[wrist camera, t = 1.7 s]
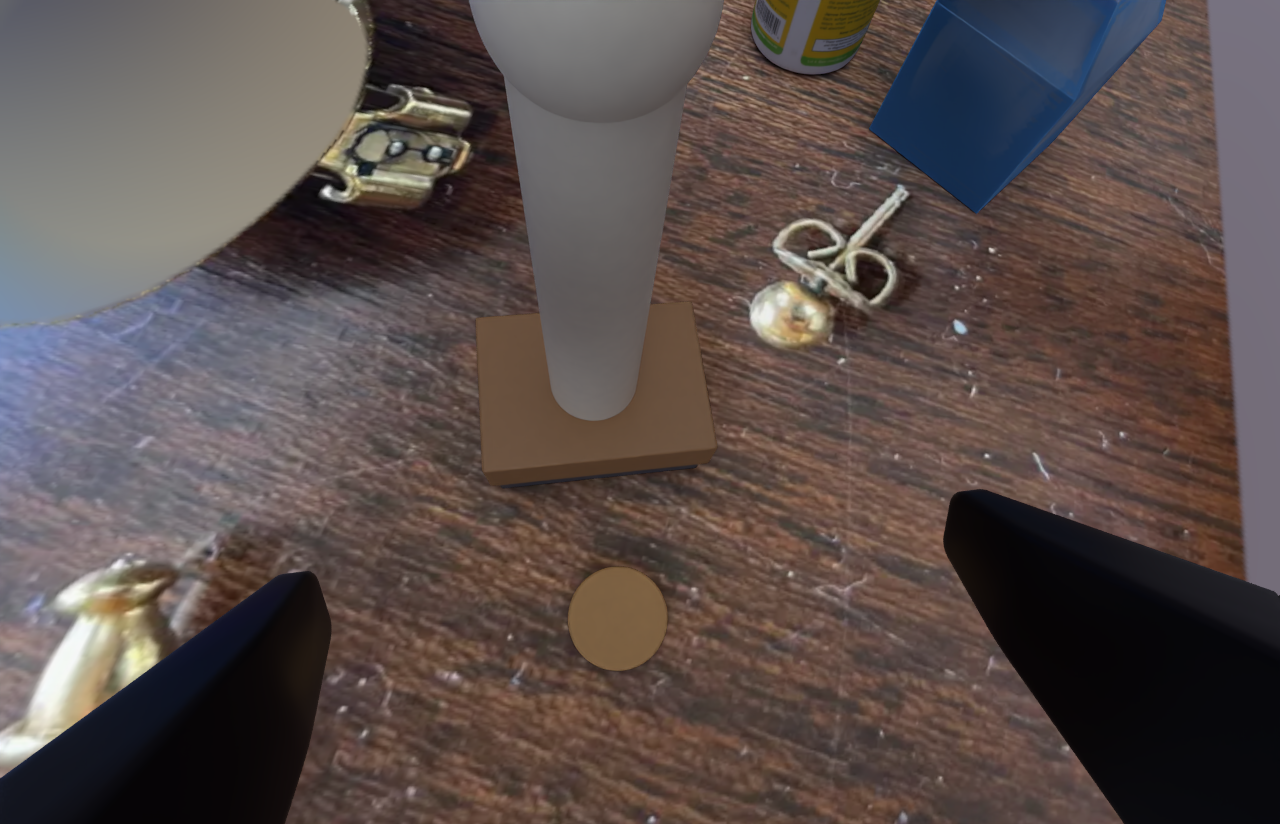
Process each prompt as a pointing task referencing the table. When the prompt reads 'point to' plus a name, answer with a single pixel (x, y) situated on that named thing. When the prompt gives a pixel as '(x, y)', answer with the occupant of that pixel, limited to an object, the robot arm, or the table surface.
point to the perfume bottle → (1003, 84)
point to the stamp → (594, 244)
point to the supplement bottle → (811, 32)
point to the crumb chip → (617, 618)
